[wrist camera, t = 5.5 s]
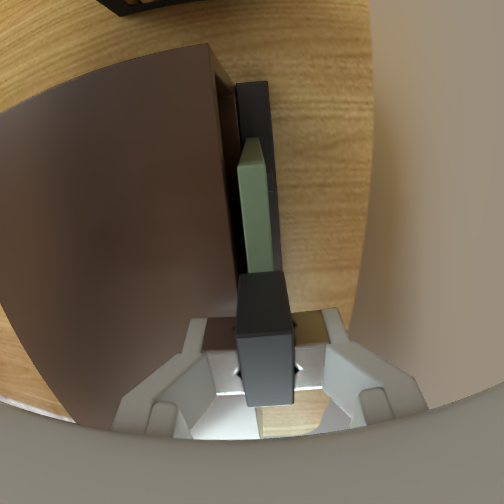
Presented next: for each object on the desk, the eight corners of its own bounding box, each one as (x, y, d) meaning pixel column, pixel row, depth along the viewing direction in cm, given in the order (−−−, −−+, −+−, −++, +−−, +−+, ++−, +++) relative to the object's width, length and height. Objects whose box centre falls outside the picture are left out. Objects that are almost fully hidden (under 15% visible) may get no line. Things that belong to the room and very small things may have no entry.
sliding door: (263, 136, 18) (288, 188, 5) (274, 272, 22) (293, 452, 10) (240, 138, 18) (211, 195, 6) (255, 273, 22) (256, 454, 10)
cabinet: (267, 81, 17) (286, 35, 7) (284, 329, 26) (298, 453, 15) (78, 117, 18) (-47, 143, 7) (135, 336, 26) (92, 442, 16)
